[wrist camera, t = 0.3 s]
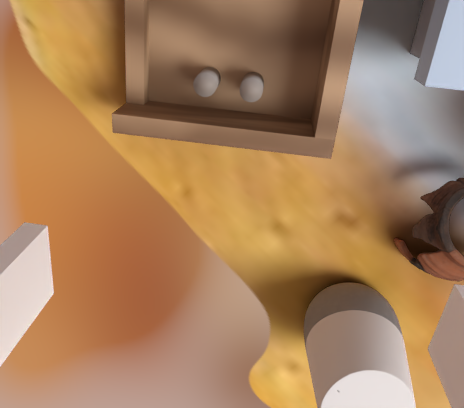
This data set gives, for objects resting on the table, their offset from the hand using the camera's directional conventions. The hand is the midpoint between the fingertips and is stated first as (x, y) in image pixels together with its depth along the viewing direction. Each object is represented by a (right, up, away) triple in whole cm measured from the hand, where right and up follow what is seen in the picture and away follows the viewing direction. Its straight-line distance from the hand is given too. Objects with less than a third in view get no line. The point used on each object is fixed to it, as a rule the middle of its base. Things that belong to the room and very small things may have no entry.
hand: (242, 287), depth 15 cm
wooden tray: (0, +17, +21) cm, 27 cm away
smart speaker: (+12, -8, +33) cm, 36 cm away
